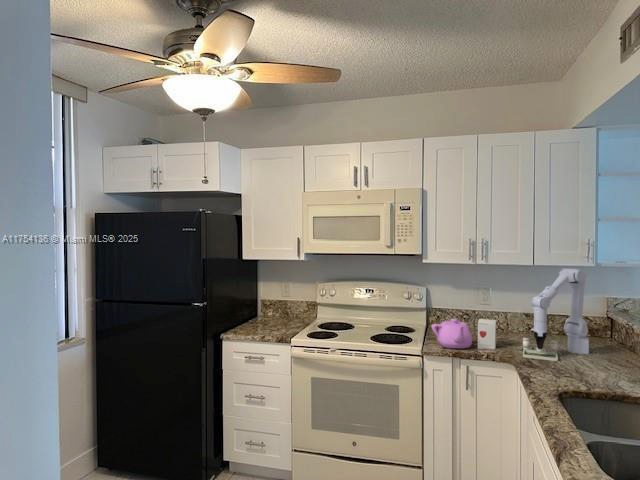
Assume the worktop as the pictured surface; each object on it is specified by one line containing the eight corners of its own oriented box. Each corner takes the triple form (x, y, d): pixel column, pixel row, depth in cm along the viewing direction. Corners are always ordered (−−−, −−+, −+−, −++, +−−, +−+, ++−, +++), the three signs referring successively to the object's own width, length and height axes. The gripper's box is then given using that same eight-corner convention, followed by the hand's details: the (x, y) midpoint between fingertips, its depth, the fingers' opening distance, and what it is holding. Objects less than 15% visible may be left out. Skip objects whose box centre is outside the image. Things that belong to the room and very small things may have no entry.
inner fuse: (557, 352, 220) (557, 340, 220) (557, 353, 218) (557, 342, 218) (550, 351, 222) (550, 340, 222) (550, 353, 219) (550, 341, 219)
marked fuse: (543, 351, 214) (543, 339, 214) (543, 352, 212) (543, 340, 212) (536, 350, 216) (536, 338, 216) (536, 352, 213) (536, 340, 213)
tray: (556, 357, 215) (556, 352, 215) (557, 363, 205) (557, 358, 205) (523, 353, 222) (523, 349, 222) (522, 358, 212) (522, 354, 212)
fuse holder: (560, 354, 221) (560, 349, 221) (561, 357, 216) (561, 352, 216) (519, 349, 230) (519, 344, 230) (519, 352, 224) (519, 347, 224)
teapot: (427, 342, 244) (427, 316, 244) (464, 342, 244) (465, 316, 244) (438, 353, 221) (438, 324, 221) (479, 353, 221) (479, 324, 221)
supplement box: (477, 349, 230) (477, 321, 230) (478, 345, 238) (478, 318, 238) (495, 351, 226) (495, 322, 226) (496, 347, 235) (496, 319, 234)
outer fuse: (529, 349, 226) (529, 337, 226) (529, 350, 224) (529, 339, 224) (522, 348, 228) (522, 337, 228) (522, 350, 225) (522, 338, 225)
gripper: (531, 317, 222) (531, 343, 222) (531, 322, 209) (530, 350, 209) (546, 318, 219) (546, 345, 219) (547, 323, 206) (547, 352, 206)
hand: (540, 347), depth 214 cm, fingers closed on marked fuse, 3 cm apart
